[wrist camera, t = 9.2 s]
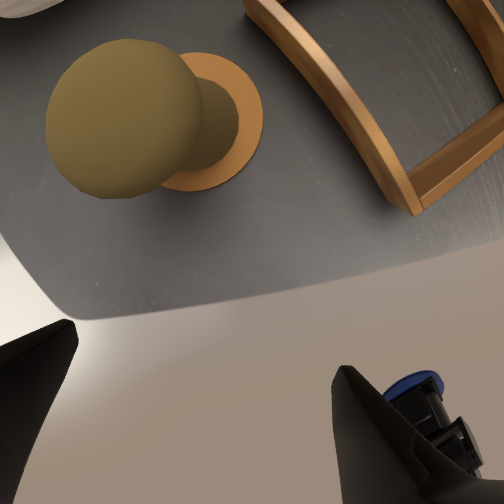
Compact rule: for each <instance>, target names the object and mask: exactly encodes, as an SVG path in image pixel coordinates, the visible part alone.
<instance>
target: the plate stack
mask: <svg viewBox="0 0 504 504" xmlns="http://www.w3.org/2000/svg"><path fill="white" fill-rule="evenodd" d="M62 1H64V0H0V17H3V18H19V17H24V16H28V15H31V14H34V13H37V12H40V11H42V10H45V9H47V8H49V7H51V6H54V5H56V4H58V3H60V2H62Z"/></svg>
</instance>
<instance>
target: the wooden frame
mask: <svg viewBox="0 0 504 504" xmlns="http://www.w3.org/2000/svg"><path fill="white" fill-rule="evenodd" d="M243 1H244V8H245V13H246V14H247V15H248V16H249V17H250V18H251V19H252V20H253V21H254V22H255V23H256V24H257V25H258V26H259V27H260V28H261V29H262V30H263V31H264V32H265V33H266V34H267V36H268V37H269V38H270V39H271V40H272V41H273V42H274V43H275V44H276V45H277V46H278V47H279V48H280V50H281V51H282V52H283V53H284V54H285V55H286V56H287V57H288V59H289V60H290V61H291V62H292V63H293V64H294V66H295V67H296V68H297V69H298V70H299V72H300V73H301V74H302V75H303V76H304V78H305V79H306V80H307V81H308V83H309V84H310V85H311V86H312V88H313V89H314V90H315V91H316V93H317V94H318V95H319V97H320V98H321V99H322V101H323V102H324V103H325V105H326V106H327V107H328V109H329V110H330V111H331V113H332V114H333V115H334V117H335V118H336V120H337V121H338V122H339V124H340V125H341V127H342V128H343V130H344V131H345V133H346V134H347V136H348V137H349V138H350V140H351V141H352V143H353V145H354V146H355V148H356V149H357V151H358V152H359V154H360V155H361V157H362V158H363V160H364V162H365V163H366V165H367V167H368V168H369V170H370V171H371V173H372V175H373V176H374V178H375V180H376V181H377V183H378V185H379V187H380V188H381V190H382V192H383V194H384V195H385V197H386V199H387V201H389V202H391V203H392V204H394V205H395V206H397V207H399V208H400V209H402V210H403V211H405V212H407V213H408V214H410V215H411V216H413V217H416V216H417V215H418V214H419V213H421V212H422V211H423V209H426V208H428V207H429V206H430V205H431V204H433V203H434V202H435V201H437V200H438V199H439V198H440V197H442V196H443V195H444V194H445V193H447V192H448V191H449V190H450V189H452V188H453V187H454V186H455V185H457V184H458V183H459V182H460V181H462V180H463V179H464V178H465V177H466V176H468V175H469V174H470V173H471V172H472V171H474V170H475V169H476V168H477V167H478V166H480V165H481V164H482V163H483V162H484V161H485V160H487V159H488V158H489V157H490V156H491V155H492V154H493V153H495V152H496V151H497V150H498V149H499V148H500V147H501V146H503V145H504V101H503V102H501V103H500V104H499V105H498V106H496V107H495V108H494V109H492V110H491V111H490V112H489V113H487V114H486V115H485V116H483V117H482V118H481V119H480V120H478V121H477V122H476V123H474V124H473V125H472V126H471V127H469V128H468V129H467V130H465V131H464V132H463V133H461V134H460V135H459V136H457V137H456V138H455V139H453V140H452V141H451V142H450V143H448V144H447V145H446V146H444V147H443V148H442V149H440V150H439V151H438V152H436V153H435V154H433V155H432V156H431V157H429V158H428V159H427V160H425V161H424V162H423V163H421V164H420V165H419V166H417V167H416V168H415V169H413V170H412V171H410V172H409V173H408V174H406V173H405V171H404V169H403V167H402V166H401V164H400V162H399V160H398V158H397V156H396V155H395V153H394V151H393V149H392V148H391V146H390V144H389V143H388V141H387V139H386V138H385V136H384V134H383V133H382V131H381V129H380V128H379V126H378V125H377V123H376V122H375V120H374V118H373V117H372V115H371V114H370V112H369V111H368V109H367V108H366V106H365V105H364V103H363V102H362V101H361V99H360V98H359V96H358V95H357V93H356V92H355V91H354V89H353V88H352V87H351V85H350V84H349V82H348V81H347V80H346V78H345V77H344V76H343V75H342V73H341V72H340V71H339V69H338V68H337V67H336V66H335V64H334V63H333V62H332V61H331V59H330V58H329V57H328V56H327V54H326V53H325V52H324V51H323V50H322V48H321V47H320V46H319V45H318V44H317V43H316V42H315V40H314V39H313V38H312V37H311V36H310V35H309V34H308V33H307V31H306V30H305V29H304V28H303V27H302V26H301V25H300V24H299V23H298V22H297V21H296V20H295V19H294V18H293V17H292V16H291V15H290V14H289V13H288V12H287V11H286V10H285V9H284V8H283V7H282V6H281V5H280V4H281V3H283V2H285V1H287V0H243ZM445 1H446V2H447V3H448V5H449V6H450V7H451V9H452V10H453V12H454V13H455V14H456V16H457V17H458V19H459V20H460V22H461V23H462V25H463V26H464V28H465V29H466V31H467V32H468V34H469V35H470V37H471V39H472V40H473V42H474V44H475V45H476V47H477V49H478V50H479V52H480V54H481V56H482V57H483V59H484V61H485V63H486V65H487V67H488V69H489V71H490V73H491V75H492V77H493V79H494V81H495V83H496V85H497V87H498V89H499V91H500V94H501V96H502V98H503V100H504V24H503V22H502V21H501V19H500V17H499V16H498V14H497V13H496V11H495V10H494V8H493V7H492V5H491V4H490V2H489V1H488V0H445Z"/></svg>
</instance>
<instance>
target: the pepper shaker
mask: <svg viewBox="0 0 504 504" xmlns="http://www.w3.org/2000/svg"><path fill="white" fill-rule="evenodd" d="M238 129H239V114H238V111H237V108H236V104H235V101H234V100H233V99H232V97H231V96H230V95H229V93H228V92H227V90H226V89H224V88H223V87H221V86H220V85H218V84H217V83H215V82H214V81H211V80H207V79H204V78H200V77H196V76H195V75H194V73H193V72H192V71H191V69H190V68H189V67H188V66H187V64H186V63H185V62H184V60H183V59H182V58H181V57H180V56H179V55H178V54H176V53H175V52H173V51H171V50H170V49H168V48H166V47H165V46H163V45H161V44H159V43H157V42H152V41H145V40H138V39H128V38H126V39H121V40H116V41H112V42H107V43H103V44H102V45H100V46H98V47H96V48H95V49H93V50H91V51H90V52H88V53H86V54H85V55H83V56H81V57H80V58H78V59H77V60H76V61H75V62H74V63H73V64H72V65H71V66H70V67H69V68H68V70H67V71H66V72H65V73H64V74H63V75H62V76H61V78H60V80H59V82H58V84H57V85H56V87H55V89H54V91H53V93H52V95H51V98H50V101H49V105H48V109H47V113H46V124H45V137H46V142H47V146H48V150H49V153H50V157H51V159H52V161H53V162H54V164H55V166H56V167H57V169H58V171H59V172H60V174H61V175H62V176H63V177H64V178H65V179H66V180H68V181H69V182H70V183H71V184H72V185H74V186H75V187H76V188H77V189H79V190H80V191H81V192H83V193H86V194H89V195H92V196H94V197H97V198H100V199H131V198H133V197H136V196H139V195H141V194H144V193H147V192H150V191H153V190H154V189H156V188H158V187H159V186H160V185H162V184H163V183H164V182H166V181H167V180H168V179H169V178H171V177H172V176H173V175H175V174H176V173H177V172H179V171H199V170H202V169H205V168H208V167H211V166H212V165H214V164H215V163H217V162H218V161H220V160H221V159H223V158H224V157H225V155H226V154H227V153H228V151H229V150H230V149H231V148H232V146H233V144H234V142H235V139H236V136H237V134H238Z"/></svg>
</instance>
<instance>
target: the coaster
mask: <svg viewBox="0 0 504 504" xmlns="http://www.w3.org/2000/svg"><path fill="white" fill-rule="evenodd" d="M179 56H180V57H181V58H182V59H183V60H184V62H185V63H186V64H187V66H188V67H189V68H190V69H191V71H192V72H193V73H194V75H195V76H196V77H200V78H204V79H207V80H211V81H214V82H215V83H217V84H218V85H220V86H221V87H223V88H224V89H226V90H227V92H228V93H229V95H230V96H231V97H232V99H233V100H234V101H235V104H236V108H237V111H238V114H239V129H238V134H237V136H236V139H235V142H234V144H233V146H232V148H231V149H230V150H229V151H228V153H227V154H226V155H225V157H224V158H223V159H221V160H220V161H218V162H217V163H215V164H214V165H212V166H211V167H208V168H205V169H202V170H199V171H179V172H177V173H176V174H175V175H173V176H172V177H171V178H169V179H168V180H167V181H166V182H164V183H163V184H162V185H161V186H164V187H166V188H170V189H173V190H179V191H200V190H204V189H209V188H212V187H215V186H217V185H219V184H221V183H223V182H225V181H227V180H229V179H230V178H232V177H233V176H234V175H236V174H237V173H238V172H239V171H240V170H241V169H242V168H243V167H244V166H245V165H246V164H247V162H248V161H249V160H250V158H251V157H252V155H253V154H254V152H255V150H256V148H257V146H258V143H259V140H260V137H261V133H262V128H263V108H262V103H261V99H260V96H259V93H258V91H257V89H256V87H255V85H254V83H253V82H252V80H251V79H250V78H249V77H248V75H247V74H246V73H245V72H244V71H243V70H242V69H241V68H239V67H238V66H237V65H235V64H234V63H232V62H231V61H229V60H227V59H225V58H222V57H219V56H217V55H212V54H208V53H186V54H181V55H179Z"/></svg>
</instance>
